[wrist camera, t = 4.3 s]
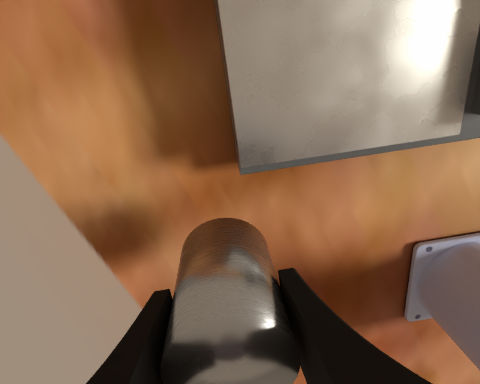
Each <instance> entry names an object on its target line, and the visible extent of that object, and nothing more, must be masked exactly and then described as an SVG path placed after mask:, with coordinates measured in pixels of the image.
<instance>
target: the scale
mask: <svg viewBox="0 0 480 384" xmlns="http://www.w3.org/2000/svg"><path fill="white" fill-rule="evenodd" d="M214 2H215V9H216V16H217V23H218V30H219V37H220V44H221V51H222V58H223V65H224V72H225V79H226V86H227V93H228V100H229V107H230V114H231V121H232V128H233V135H234V142H235V149H236V156H237V163H238V167H239V170H240V174H241V175H243V174H249V173H256V172H262V171H269V170H275V169H282V168H288V167H294V166H301V165H307V164H314V163H320V162H327V161H333V160H340V159H346V158H353V157H359V156H365V155H372V154H378V153H385V152H391V151H398V150H404V149H411V148H417V147H424V146H430V145H436V144H443V143H449V142H456V141H462V140H469V139H475V138H480V24H479V30H478V35H477V41H476V46H475V52H474V58H473V63H472V69H471V74H470V80H469V85H468V91H467V96H466V102H465V107H464V113H463V118H462V124H461V129H460V134H459V135H453V136H446V137H440V138H433V139H427V140H420V141H414V142H407V143H401V144H394V145H388V146H381V147H375V148H368V149H362V150H355V151H349V152H342V153H336V154H330V155H323V156H317V157H310V158H304V159H297V160H291V161H284V162H278V163H271V164H265V165H258V166H252V167H245V168H241V166H240V162H239V155H238V148H237V141H236V134H235V127H234V119H233V112H232V105H231V98H230V91H229V84H228V76H227V69H226V62H225V55H224V48H223V41H222V33H221V26H220V19H219V12H218V5H217V0H214Z"/></svg>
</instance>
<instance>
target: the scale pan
mask: <svg viewBox="0 0 480 384" xmlns="http://www.w3.org/2000/svg"><path fill="white" fill-rule="evenodd" d="M217 5H218V12H219V19H220V26H221V33H222V41H223V48H224V55H225V62H226V69H227V76H228V84H229V91H230V98H231V105H232V112H233V119H234V127H235V134H236V141H237V148H238V155H239V162H240V166H241V168H245V167H252V166H258V165H265V164H271V163H278V162H284V161H291V160H297V159H304V158H310V157H317V156H323V155H330V154H336V153H342V152H349V151H355V150H362V149H368V148H375V147H381V146H388V145H394V144H401V143H407V142H414V141H420V140H427V139H433V138H440V137H446V136H453V135H459V134H460V129H461V124H462V118H463V113H464V107H465V102H466V96H467V91H468V85H469V80H470V74H471V69H472V63H473V58H474V52H475V46H476V41H477V35H478V30H479V24H480V0H217Z"/></svg>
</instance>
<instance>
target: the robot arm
mask: <svg viewBox="0 0 480 384" xmlns="http://www.w3.org/2000/svg"><path fill="white" fill-rule="evenodd" d="M427 247H428V248H427ZM426 248H427V249H426ZM278 273H279V282H280V289H281V292H282V296H283V299H284V302H285V306H286V309H287V312H288V316H289V319H290V323H291V326H292V329H293V333H294V336H295V339H296V343H297V346H298V349H299V353H300V359H301V362H300V365H301V368H302V371H303V374H304V377H305V379H306V382H307V384H432V383H430V382H428V381H427V380H425V379H424V378H422V377H420V376H419V375H417V374H415V373H414V372H412V371H410V370H409V369H407V368H406V367H404V366H403V365H401V364H400V363H398V362H397V361H395V360H394V359H392V358H391V357H389V356H388V355H386V354H385V353H384V352H382V351H381V350H379V349H378V348H377V347H375V346H374V345H373V344H371V343H370V342H369V341H367V340H366V339H365V338H363V337H362V336H361V335H360V334H358V333H357V332H356V331H355V330H353V329H352V328H351V327H350V326H349V325H348V324H346V323H345V322H344V321H343V320H342V319H341V318H340V317H339V316H338V315H336V314H335V313H334V312H333V311H332V310H331V309H330V308H329V307H328V306H327V305H326V304H325V303H324V302H323V301H322V300H321V299H320V298H319V297H318V296H317V295H316V294H315V292H314V291H313V290H312V289H311V288H310V287H309V286H308V285H307V283H306V282H305V281H304V280H303V279H302V277H301V276H300V275H299V274H298V272H297V271H296V270H295V269H294V268H289V269H283V270H278ZM172 301H173V299H172V296H171V293H170V289H166V290H160V291H155V292H154V293H153V294H152V296H151V297H150V299H149V300H148V302H147V303H146V305H145V306H144V308H143V309H142V311H141V312H140V314H139V315H138V317H137V318H136V320H135V321H134V323H133V324H132V325H131V327H130V328H129V330H128V331H127V333H126V334H125V335H124V337H123V338H122V340H121V341H120V342H119V344H118V345H117V346H116V348H115V349H114V350H113V351H112V353H111V354H110V355H109V357H108V358H107V359H106V361H105V362H104V363H103V364H102V365H101V367H100V368H99V369H98V370H97V372H96V373H95V374H94V375H93V377H91V378H90V380H89V381H88V382H87V383H86V384H163V383H162V380H161V376H160V366H161V360H162V355H163V349H164V344H165V339H166V333H167V328H168V323H169V317H170V312H171V307H172ZM404 317H405V318H406V320H407V321H417V320H423V319H429V318H434V320H435V321H436V322H437V323H438V324H439V325H440V326H441V327H442V329H443V330H444V331H445V332H446V333H447V334H448V335H449V336H450V338H451V339H452V340H453V341H454V342H455V343H456V344H457V345H458V347H459V348H460V349H461V350H462V351H463V352H464V353H465V354H466V356H467V357H468V358H469V359H470V360H471V361H472V362H473V363H474V365H475V366H476V367H477V368H478V369H479V370H480V233H475V234H469V235H463V236H457V237H451V238H445V239H439V240H433V241H426V242H420V243H418V244H416V245H415V246H414V249H413V255H412V263H411V270H410V277H409V285H408V292H407V299H406V306H405V314H404Z"/></svg>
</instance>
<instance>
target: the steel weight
mask: <svg viewBox="0 0 480 384" xmlns="http://www.w3.org/2000/svg"><path fill="white" fill-rule="evenodd" d="M300 362H301V359H300V353H299V349H298V346H297V343H296V339H295V336H294V333H293V329H292V326H291V323H290V319H289V316H288V312H287V309H286V306H285V302H284V299H283V296H282V292H281V289H280V286H279V282H278V279H277V276H276V272H275V269H274V266H273V262H272V259H271V256H270V252H269V249H268V246H267V243H266V240H265V238H264V236H263V235H262V234H261V232H260V231H259V230H258V229H257V228H256V227H254V226H253V225H251V224H249V223H248V222H245V221H243V220H239V219H235V218H218V219H213V220H210V221H207V222H205V223H203V224H201V225H200V226H198V227H197V228H195V229H194V230H193V231H192V232H191V233H190V234H189V236H188V237H187V238H186V240H185V242H184V245H183V248H182V253H181V258H180V264H179V269H178V274H177V280H176V285H175V291H174V296H173V301H172V307H171V312H170V317H169V323H168V328H167V333H166V339H165V344H164V349H163V355H162V360H161V366H160V376H161V380H162V383H163V384H293V382H294V381H295V379H296V377H297V375H298V373H299V369H300Z"/></svg>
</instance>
